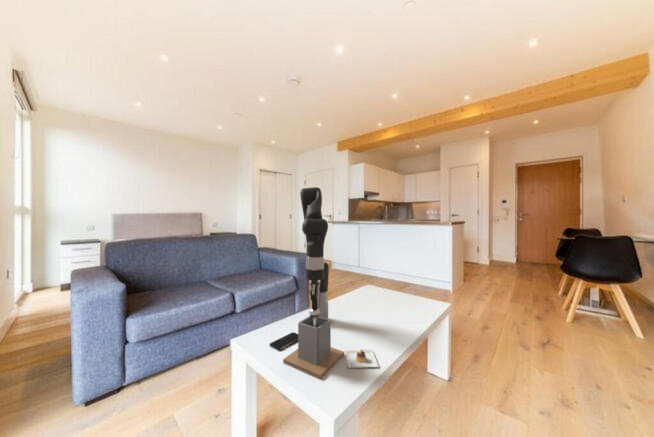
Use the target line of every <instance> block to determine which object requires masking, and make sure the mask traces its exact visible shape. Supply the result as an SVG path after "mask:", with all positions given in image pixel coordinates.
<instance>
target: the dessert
mask: <svg viewBox="0 0 654 437" xmlns="http://www.w3.org/2000/svg"><path fill="white" fill-rule="evenodd" d="M344 354H345V358H346V362H347V367H348V368H349V369H356V368H357V369H358V368H368V366H352V365H351V359H350V355H349V354H356V356H355V361H356V362H357V363H360V364H364V363H366V362H367V360H368V359H367V356H366V354H370V356H371V359H372V362H373V364H374V366H371V368H380V365H379V363H378V361H377V358H376V356H375V353H374V350H373V349H361V348H360V349H352V350H351V349H346V350H344Z"/></svg>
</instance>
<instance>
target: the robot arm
mask: <svg viewBox="0 0 654 437" xmlns="http://www.w3.org/2000/svg"><path fill="white" fill-rule="evenodd" d="M299 195H300V201H301V202H300V203H301V208H302V213H303V222H302V226H301V227H302V228H301V230H302V233H303V234H304V235H305V240H306V242H305V243H306V259H305V279H306V280H308V281H310V283H309V295H310V303H311V307H310V308H312V310H317V308H320V316H319V317H323V318H326V319H329V302H328V300H329V299H328V297H329V293H328V292H329V291H328V289H329V275H330V269H329V268H330V266H329V264H328V263H327V262H325V258H324V257H325V256H324V247H325V246H324V245H325V239H326V237H327V233H328V229H329V225H328V221H327V220H326V219H325V218H323V213H322V206H323V205H322V204H323V194H322V191H321V189H320V187H316V186H314V187H305V188H301V189H300V194H299ZM319 281H320V282H319Z"/></svg>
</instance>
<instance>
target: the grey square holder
mask: <svg viewBox="0 0 654 437" xmlns="http://www.w3.org/2000/svg"><path fill="white" fill-rule="evenodd" d="M331 322H332V321H331V319H329V318H328V319H326V318H323V317H316V327H313V317H311V316H309V315H308V316H307V317H305V318H304V319H302V320H300V321H299V322H298V323H297V327H298V328H297V329H298V330H297V334H298V342H297V349H295V350H294V351H293V352H292V353H290V354H289V355H287V356H286V357H284V358H282V363H283V364H285V365H287V366H289V367H292V369H293V368H294V369H296V370H298V371H300V372H303V373H304V374H307V375H309V376H311V377H314V378H315V379H318V380H321V379H323V377H324V376H325V375H327V373H328V372H329V371H330V370H331V369H332V368H333V367H334V366H336V364H337V363H338V362H340V360H342V359H343V357H344V356H345V351H343V350H340V349H337V348H335V347H332V346H331V338H332V336H331V335H332V334H331V331H332V330H331V328H332V327H331V324H332V323H331Z"/></svg>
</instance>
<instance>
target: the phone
mask: <svg viewBox="0 0 654 437" xmlns="http://www.w3.org/2000/svg"><path fill="white" fill-rule="evenodd" d="M296 342H297V343H298V332H297V333H296V332H290V333H288V334H286V335H284V336H282V337H279V338H277V339H276V340H274V341H271V342H270V343H269V347H270V346H271V347H270V348H272V347H273V349H274V348H275V349H276V350H275V349H274V350H275V351H277V350H278V351H277V352H281V351H284V350H285V348H286V349H288V348H289V347H292V346H293V345H295V344H297V343H296Z"/></svg>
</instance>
